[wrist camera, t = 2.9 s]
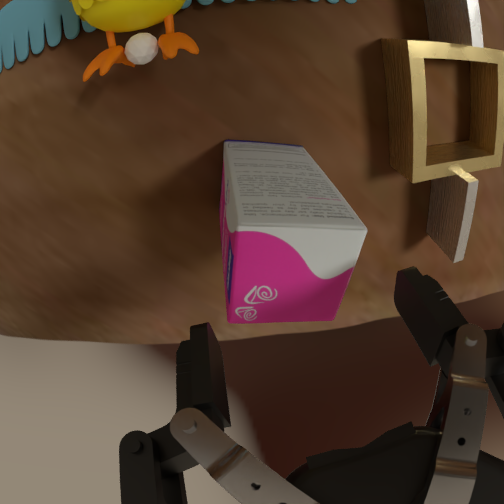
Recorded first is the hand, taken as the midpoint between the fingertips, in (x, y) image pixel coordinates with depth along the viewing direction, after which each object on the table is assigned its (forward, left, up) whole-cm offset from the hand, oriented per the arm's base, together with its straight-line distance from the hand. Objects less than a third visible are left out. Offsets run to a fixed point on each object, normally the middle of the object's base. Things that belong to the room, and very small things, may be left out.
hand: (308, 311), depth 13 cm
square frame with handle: (-4, +16, -13) cm, 21 cm away
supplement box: (0, 0, -13) cm, 13 cm away
